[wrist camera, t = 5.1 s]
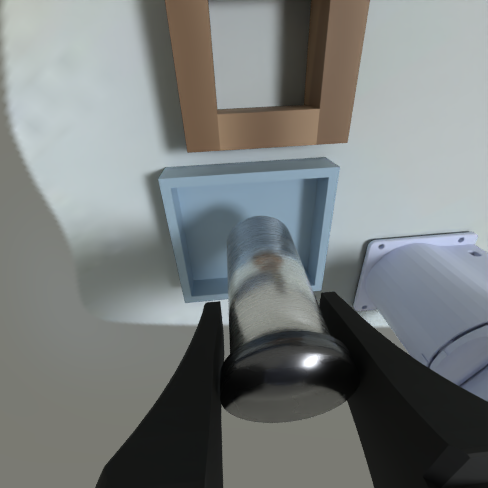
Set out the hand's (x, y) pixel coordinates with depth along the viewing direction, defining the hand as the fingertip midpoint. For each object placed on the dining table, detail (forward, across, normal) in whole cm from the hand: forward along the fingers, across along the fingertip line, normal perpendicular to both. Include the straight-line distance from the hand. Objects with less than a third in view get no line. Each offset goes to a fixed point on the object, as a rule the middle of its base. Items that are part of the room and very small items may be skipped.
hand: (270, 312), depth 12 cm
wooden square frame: (+9, -1, -11) cm, 14 cm away
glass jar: (+5, 0, -1) cm, 5 cm away
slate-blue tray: (+9, 0, 0) cm, 9 cm away
